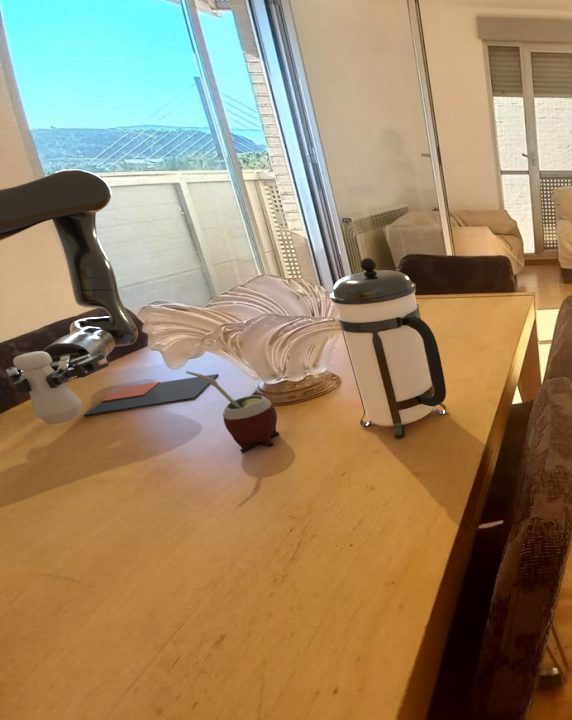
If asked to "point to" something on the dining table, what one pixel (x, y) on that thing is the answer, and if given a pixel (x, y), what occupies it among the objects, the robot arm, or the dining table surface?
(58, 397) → the salt shaker
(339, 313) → the coffee press
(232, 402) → the mate gourd
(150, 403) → the dark grey flat slab
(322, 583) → the dining table surface
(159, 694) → the dining table surface
